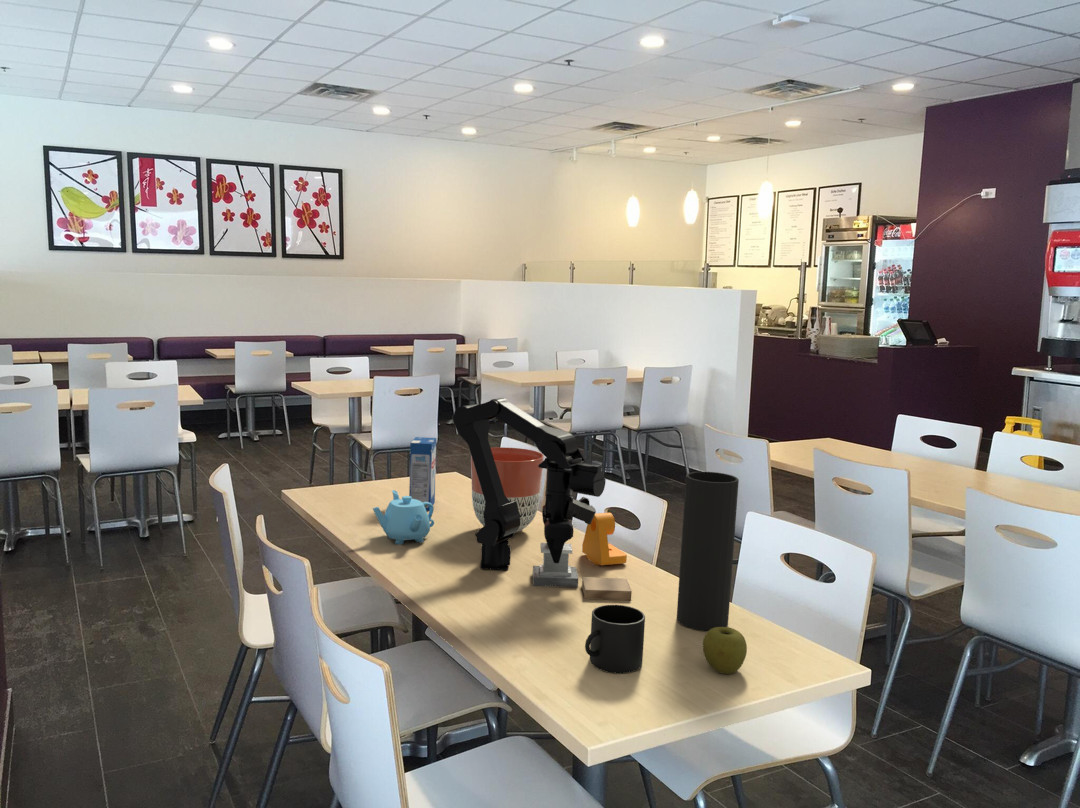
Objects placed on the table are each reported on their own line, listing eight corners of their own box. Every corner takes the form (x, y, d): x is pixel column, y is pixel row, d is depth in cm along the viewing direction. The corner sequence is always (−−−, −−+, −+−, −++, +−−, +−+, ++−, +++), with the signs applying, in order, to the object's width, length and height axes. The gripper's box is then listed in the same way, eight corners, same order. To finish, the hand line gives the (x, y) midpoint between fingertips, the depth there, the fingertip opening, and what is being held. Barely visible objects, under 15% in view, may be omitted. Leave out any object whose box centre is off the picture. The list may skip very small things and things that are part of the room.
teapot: (365, 542, 216) (366, 498, 214) (392, 528, 228) (393, 487, 227) (419, 550, 211) (420, 506, 209) (443, 536, 223) (444, 494, 222)
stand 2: (584, 598, 182) (585, 589, 182) (582, 585, 190) (582, 577, 190) (631, 600, 182) (631, 591, 182) (626, 587, 190) (626, 578, 190)
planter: (554, 536, 228) (558, 457, 225) (492, 546, 217) (495, 463, 214) (515, 518, 244) (517, 445, 241) (455, 527, 232) (457, 450, 230)
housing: (540, 575, 190) (541, 549, 189) (539, 567, 195) (540, 542, 194) (571, 576, 190) (572, 550, 189) (569, 568, 195) (571, 543, 194)
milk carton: (430, 510, 248) (431, 443, 245) (408, 510, 248) (410, 442, 246) (434, 502, 258) (436, 437, 255) (414, 501, 258) (415, 437, 255)
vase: (666, 618, 173) (675, 474, 169) (700, 608, 179) (710, 469, 175) (703, 635, 165) (714, 485, 161) (738, 625, 171) (749, 479, 167)
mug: (567, 662, 151) (569, 613, 149) (617, 647, 158) (620, 600, 157) (601, 682, 143) (604, 631, 142) (653, 666, 150) (656, 617, 149)
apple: (738, 660, 154) (741, 623, 153) (750, 680, 146) (753, 641, 145) (697, 659, 154) (699, 622, 153) (707, 679, 146) (710, 640, 145)
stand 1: (533, 585, 189) (533, 577, 188) (532, 573, 197) (532, 565, 196) (577, 587, 189) (578, 578, 189) (575, 575, 197) (575, 566, 197)
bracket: (627, 566, 206) (630, 517, 204) (600, 568, 203) (603, 519, 201) (607, 552, 215) (610, 506, 214) (581, 555, 213) (584, 508, 211)
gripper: (598, 501, 181) (594, 571, 183) (590, 481, 200) (587, 545, 202) (546, 499, 181) (543, 569, 183) (543, 479, 199) (540, 543, 201)
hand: (555, 556), depth 192 cm, fingers open, 9 cm apart
